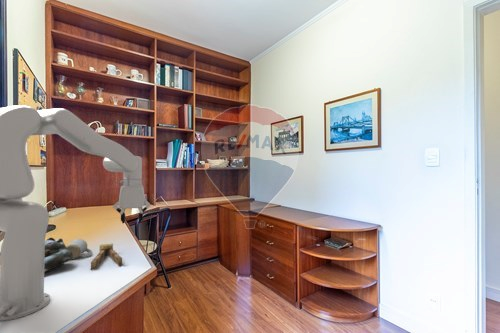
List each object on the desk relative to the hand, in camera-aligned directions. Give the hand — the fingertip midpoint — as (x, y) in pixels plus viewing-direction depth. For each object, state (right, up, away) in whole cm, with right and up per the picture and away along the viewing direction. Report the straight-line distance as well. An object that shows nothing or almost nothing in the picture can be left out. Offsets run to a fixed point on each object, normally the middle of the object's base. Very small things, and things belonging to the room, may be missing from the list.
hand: (131, 221), depth 106 cm
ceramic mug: (-27, -18, +4) cm, 33 cm away
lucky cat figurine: (-29, -17, -11) cm, 36 cm away
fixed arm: (-14, -17, -2) cm, 22 cm away
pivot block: (-16, -18, +7) cm, 25 cm away
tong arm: (-7, -17, -1) cm, 19 cm away
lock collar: (-15, -17, +6) cm, 24 cm away
